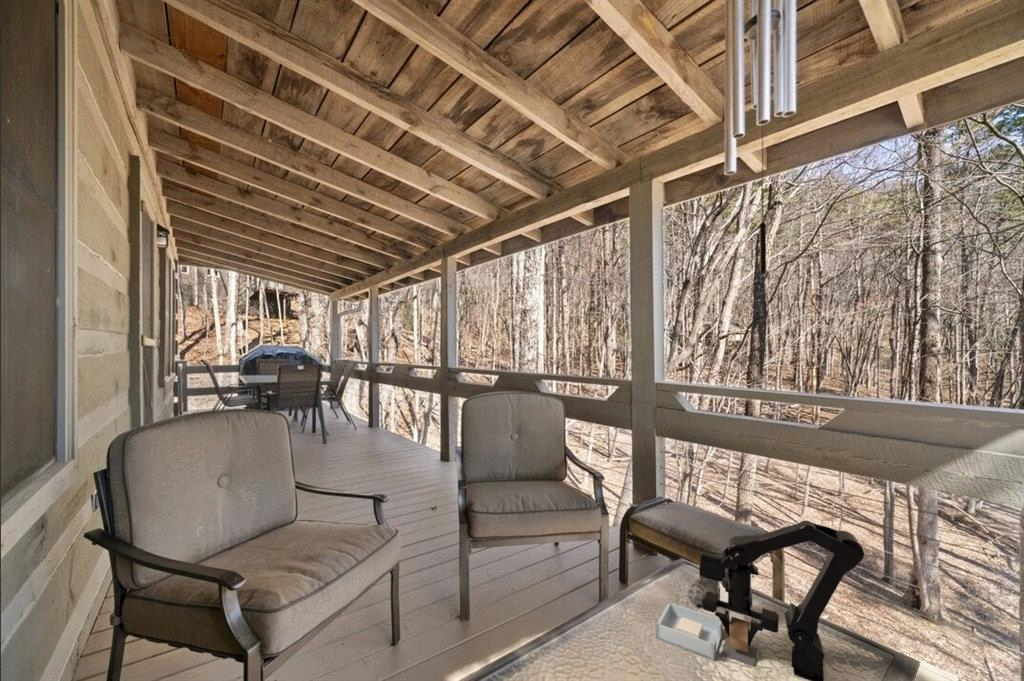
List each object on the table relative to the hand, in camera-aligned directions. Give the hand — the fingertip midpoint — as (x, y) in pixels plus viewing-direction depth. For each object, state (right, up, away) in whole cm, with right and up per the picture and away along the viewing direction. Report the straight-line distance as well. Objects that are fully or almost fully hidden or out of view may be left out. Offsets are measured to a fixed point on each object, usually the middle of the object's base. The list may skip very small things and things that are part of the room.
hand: (739, 641), depth 120 cm
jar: (+7, -4, +16) cm, 18 cm away
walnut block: (0, -1, 0) cm, 1 cm away
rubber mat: (0, -3, 0) cm, 3 cm away
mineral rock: (+1, -4, +25) cm, 26 cm away
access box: (-11, -3, +7) cm, 13 cm away
